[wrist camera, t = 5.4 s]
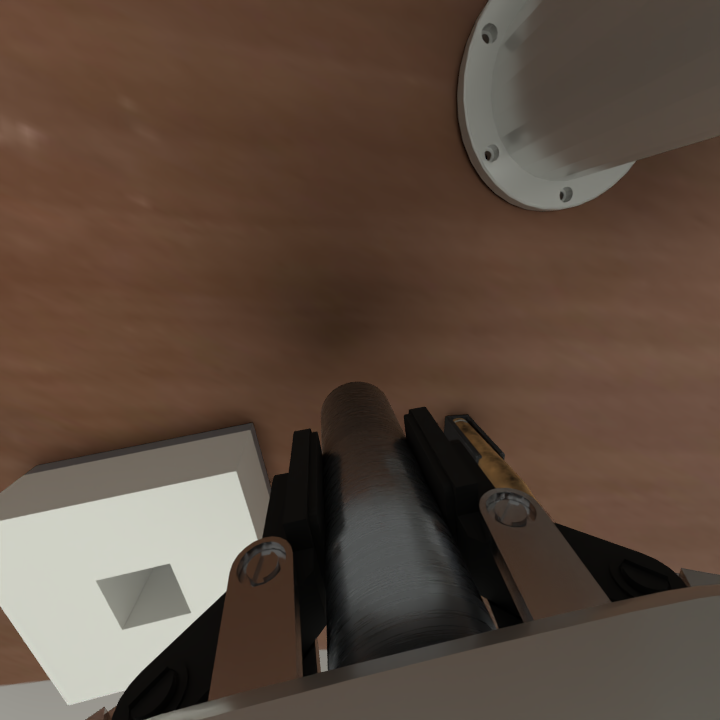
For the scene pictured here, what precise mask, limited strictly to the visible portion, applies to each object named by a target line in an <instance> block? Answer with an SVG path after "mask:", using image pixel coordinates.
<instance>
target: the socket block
mask: <svg viewBox="0 0 720 720" xmlns="http://www.w3.org/2000/svg"><path fill="white" fill-rule="evenodd" d="M270 493H271V486H270V482H269V479H268V475H267V472H266V468H265V465H264V461H263V457H262V454H261V450H260V447H259V443H258V440H257V436H256V432H255V429H254V425H253V423H249V424H244V425H239V426H234V427H229V428H224V429H219V430H214V431H209V432H204V433H199V434H194V435H189V436H184V437H178V438H173V439H168V440H163V441H158V442H153V443H148V444H143V445H138V446H133V447H128V448H123V449H118V450H113V451H108V452H103V453H98V454H93V455H88V456H83V457H78V458H73V459H68V460H63V461H57V462H52V463H47V464H42V465H37V466H35V467H34V468H33V469H31V470H30V471H29V472H27V473H26V474H25V475H23V476H22V477H21V478H19V479H18V480H17V481H15V482H14V483H13V484H12V485H10V486H9V487H8V488H6V489H5V490H4V491H2V492H1V493H0V606H1V608H2V609H3V611H4V612H5V614H6V615H7V616H8V618H9V619H10V621H11V622H12V624H13V625H14V627H15V628H16V630H17V631H18V633H19V634H20V636H21V637H22V638H23V640H24V641H25V643H26V644H27V646H28V647H29V649H30V650H31V652H32V653H33V655H34V656H35V658H36V659H37V660H38V662H39V663H40V665H41V666H42V668H43V669H44V671H45V672H46V674H47V675H48V677H49V678H50V680H51V681H52V682H53V684H54V685H55V687H56V688H57V690H58V691H59V693H60V694H61V696H62V697H63V698H64V700H65V701H66V703H67V704H68V705H72V704H75V703H79V702H82V701H87V700H90V699H94V698H98V697H101V696H106V695H109V694H113V693H117V692H121V691H125V690H126V689H127V688H128V686H129V685H130V684H131V682H132V681H133V680H134V679H135V678H136V677H137V676H138V675H139V674H140V672H141V671H142V670H144V669H145V668H146V667H147V666H148V665H149V664H150V663H151V662H152V661H153V660H154V659H155V658H156V657H157V656H158V655H159V654H160V653H161V652H163V651H164V650H165V649H166V648H167V647H168V646H169V645H170V644H171V643H172V642H173V641H174V640H175V639H176V638H177V637H178V636H179V635H181V634H182V633H183V632H184V631H185V630H186V629H187V628H188V627H189V626H190V625H191V624H192V623H193V622H194V621H195V620H196V619H197V618H199V617H200V616H201V615H202V614H203V613H204V612H205V611H206V610H207V609H208V608H209V607H210V606H211V605H212V604H213V603H214V602H215V601H217V600H218V599H219V598H220V597H221V596H222V595H223V594H224V593H225V592H226V590H227V584H228V578H229V572H230V569H231V566H232V563H233V562H234V560H235V559H236V557H237V556H238V554H239V553H240V552H241V551H242V550H243V549H244V548H245V547H247V546H248V545H250V544H251V543H253V542H254V541H257V540H259V539H262V536H263V531H264V525H265V520H266V515H267V509H268V504H269V499H270Z"/></svg>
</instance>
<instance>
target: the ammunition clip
mask: <svg viewBox="0 0 720 720" xmlns="http://www.w3.org/2000/svg"><path fill="white" fill-rule="evenodd" d="M444 434H445V436H446V437H447V439H448V440H449V441H450V440H455V439H458V440H460V441H461V443H462V444H463V445H464V447H465V448H466V449H467V451H468V452H469V453H470V455H471V456H472V457H473V459H474V460H475V461H476V463H477V464H478V465H479V467H480V468H481V469H482V471H483V472H484V473H485V475H486V476H487V477H488V479H489V480H490V481H491V483H492V484H493V485H494V487H495V488H511V489H517V490H519V491H522V492H525V493H527V494H528V495H530V496H531V497H533V498H534V499H535V500H536V498H535V497H534V496H533V495H532V493H531V491H530V490H529V488H528V486H527V485H526V484H525V483H524V481H523V480H522V479H521V478H520V477H519V476H518V475H517V474H516V473H515V472H514V471H513V470H512V469H511V467H510V466H509V465H508V464H507V463H506V462H505V461H504V457H505V454H504V453H503V452H502V451H501V450H500V449H499V447H498V446H497V445H496V444H495V443H494V442H493V441H492V440H491V439H490V438H489V437H488V436H487V435H486V433H485V432H484V431H483V430H482V429H481V428H480V427H479V426H478V425H477V424H476V423H475V422H474V420H473V419H472V418H471V417H470V416H469V415H456V416H447V417H445V429H444ZM536 501H537V500H536ZM537 502H538V501H537ZM538 503H539V502H538ZM539 504H540V503H539ZM540 505H541V504H540ZM541 507H542V505H541ZM542 508H543V507H542ZM543 509H544V508H543ZM544 511H545V509H544ZM545 512H546V511H545ZM546 513H547V512H546ZM547 515H548V516H549V517H550V519H551V520H552V522H554V523H555V521H554V520H553V519H552V517H551V516H550V515H549V514H548V513H547ZM481 597H482V596H481Z"/></svg>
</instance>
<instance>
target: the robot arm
mask: <svg viewBox="0 0 720 720" xmlns="http://www.w3.org/2000/svg"><path fill="white" fill-rule="evenodd" d="M457 102H458V120H459V125H460V130H461V134H462V139H463V143H464V146H465V148H466V151H467V153H468V156H469V158H470V161H471V163H472V165H473V166H474V168H475V169H476V171H477V173H478V174H479V176H480V177H481V179H482V180H483V181H484V182H485V183H486V184H487V186H488V187H489V188H490V189H491V190H492V191H493V192H494V193H495V194H497V195H498V196H500V197H501V198H503V199H504V200H506V201H507V202H509V203H510V204H513V205H516V206H518V207H521V208H523V209H527V210H534V211H542V212H543V211H554V210H562V209H566V208H570V207H574V206H578V205H581V204H583V203H585V202H588V201H590V200H592V199H595V198H596V197H598V196H599V195H601V194H602V193H604V192H605V191H607V190H608V189H610V188H611V187H612V186H613V185H615V184H616V183H617V182H618V181H619V180H620V179H621V178H622V177H623V176H624V175H625V174H626V173H627V172H628V171H629V169H630V168H631V167H632V166H633V164H634V163H635V162H636V161H637V160H640V159H643V158H647V157H650V156H653V155H657V154H660V153H663V152H667V151H670V150H673V149H677V148H680V147H683V146H687V145H690V144H694V143H697V142H700V141H704V140H707V139H710V138H714V137H717V136H720V0H489V1H488V2H487V4H486V5H485V7H484V8H483V10H482V11H481V13H480V15H479V16H478V18H477V20H476V22H475V24H474V27H473V29H472V31H471V34H470V36H469V38H468V41H467V43H466V47H465V51H464V54H463V58H462V62H461V66H460V72H459V81H458V90H457ZM485 154H486V155H487V157H488V158H487V159H486V158H485ZM404 423H405V432H406V439H407V441H408V443H409V445H410V448H411V450H412V452H413V454H414V456H415V458H416V460H417V462H418V464H419V467H420V469H421V471H422V473H423V475H424V477H425V479H426V481H427V483H428V486H429V488H430V490H431V492H432V494H433V496H434V498H435V500H436V502H437V505H438V507H439V509H440V511H441V513H442V515H443V517H444V519H445V521H446V524H447V526H448V528H449V530H450V532H451V534H452V536H453V538H454V540H455V542H456V544H457V546H458V549H459V551H460V553H461V555H462V557H463V559H464V561H465V563H466V565H467V568H468V570H469V572H470V574H471V576H472V578H473V580H474V582H475V584H476V586H477V589H478V591H479V593H480V595H481V596H482V599H483V601H484V603H485V605H486V608H487V610H488V612H489V614H490V616H491V618H492V620H493V622H494V624H495V627H496V630H492V631H488V632H484V633H480V634H476V635H472V636H468V637H463V638H459V639H455V640H451V641H447V642H443V643H439V644H435V645H430V646H426V647H422V648H418V649H414V650H410V651H406V652H402V653H398V654H394V655H390V656H386V657H381V658H377V659H373V660H369V661H365V662H361V663H357V664H353V665H349V666H345V667H341V668H337V669H333V670H329V671H325V672H321V669H320V658H319V647H318V640H317V637H318V636H319V634H320V633H321V631H322V630H323V629H324V627H325V626H326V625H327V621H326V584H325V553H326V551H325V518H324V485H323V455H322V450H321V446H320V441H319V436H318V432H311V429H305V430H300V431H295V432H294V434H293V443H292V451H291V459H290V467H289V473H285V474H280V475H275V476H274V478H273V483H272V488H271V493H270V499H269V504H268V509H267V515H266V520H265V525H264V531H263V536H262V539H259V540H257V541H254V542H253V543H251V544H250V545H248V546H247V547H245V548H244V549H243V550H242V551H241V552H240V553H239V554H238V556H237V557H236V559H235V560H234V562H233V563H232V566H231V569H230V572H229V578H228V584H227V590H226V592H225V593H224V594H223V595H222V596H221V597H220V598H219V599H218V600H217V601H215V602H214V603H213V604H212V605H211V606H210V607H209V608H208V609H207V610H206V611H205V612H204V613H203V614H202V615H201V616H200V617H199V618H197V619H196V620H195V621H194V622H193V623H192V624H191V625H190V626H189V627H188V628H187V629H186V630H185V631H184V632H183V633H182V634H181V635H179V636H178V637H177V638H176V639H175V640H174V641H173V642H172V643H171V644H170V645H169V646H168V647H167V648H166V649H165V650H164V651H163V652H161V653H160V654H159V655H158V656H157V657H156V658H155V659H154V660H153V661H152V662H151V663H150V664H149V665H148V666H147V667H146V668H145V669H144V670H142V671H141V672H140V674H139V675H138V676H137V677H136V678H135V679H134V680H133V681H132V682H131V684H130V685H129V686H128V688H127V689H126V691H125V692H124V694H123V695H122V697H121V698H120V700H119V702H118V704H117V706H115V707H114V708H113V709H111V710H110V711H107V710H106V708H105V707H103V708H102V709H100V710H99V711H97V712H96V713H95V714H93V715H92V716H90V717H89V718H87V719H86V720H720V575H717V574H711V573H706V572H700V571H695V570H689V569H683V568H681V571H680V574H679V573H675V572H674V571H672V570H671V569H670V568H669V567H667V566H666V565H664V564H663V563H661V562H659V561H658V560H656V559H654V558H652V557H649V556H647V555H645V554H642V553H640V552H637V551H634V550H631V549H628V548H625V547H623V546H620V545H617V544H614V543H611V542H608V541H605V540H603V539H600V538H597V537H594V536H591V535H588V534H586V533H583V532H580V531H577V530H574V529H571V528H568V527H566V526H563V525H560V524H557V523H554V522H552V520H551V519H550V517H549V516H548V515H547V513H546V512H545V511H544V509H543V508H542V507H541V505H540V504H539V503H538V502H537V501H536V500H535V499H534V498H533V497H531V496H530V495H528V494H527V493H525V492H522V491H519V490H517V489H511V488H495V487H494V485H493V484H492V483H491V481H490V480H489V479H488V477H487V476H486V475H485V473H484V472H483V471H482V469H481V468H480V467H479V465H478V464H477V463H476V461H475V460H474V459H473V457H472V456H471V455H470V453H469V452H468V451H467V449H466V448H465V447H464V445H463V444H462V443H461V441H460V440H458V439H455V440H450V441H449V440H448V439H447V437H446V436H445V434H444V433H443V431H442V430H441V429H440V427H439V426H438V424H437V423H436V421H435V420H434V418H433V417H432V415H431V414H430V413H429V411H428V410H427V408H426V407H420V408H415V409H410V410H409V414H406V415H404Z"/></svg>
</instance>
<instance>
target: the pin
mask: <svg viewBox="0 0 720 720" xmlns="http://www.w3.org/2000/svg"><path fill="white" fill-rule="evenodd" d="M321 436H322V455H323V485H324V518H325V551H326V553H325V584H326V621H327V656H328V671H329V670H333V669H337V668H341V667H345V666H349V665H353V664H357V663H361V662H365V661H369V660H373V659H377V658H381V657H386V656H390V655H394V654H398V653H402V652H406V651H410V650H414V649H418V648H422V647H426V646H430V645H435V644H439V643H443V642H447V641H451V640H455V639H459V638H463V637H468V636H472V635H476V634H480V633H484V632H488V631H492V630H496V627H495V624H494V622H493V620H492V618H491V616H490V614H489V612H488V610H487V608H486V605H485V603H484V601H483V599H482V597H481V595H480V593H479V591H478V589H477V586H476V584H475V582H474V580H473V578H472V576H471V574H470V572H469V570H468V568H467V565H466V563H465V561H464V559H463V557H462V555H461V553H460V551H459V549H458V546H457V544H456V542H455V540H454V538H453V536H452V534H451V532H450V530H449V528H448V526H447V524H446V521H445V519H444V517H443V515H442V513H441V511H440V509H439V507H438V505H437V502H436V500H435V498H434V496H433V494H432V492H431V490H430V488H429V486H428V483H427V481H426V479H425V477H424V475H423V473H422V471H421V469H420V467H419V464H418V462H417V460H416V458H415V456H414V454H413V452H412V450H411V448H410V445H409V443H408V441H407V439H406V437H405V435H404V433H403V430H402V428H401V426H400V424H399V422H398V420H397V418H396V416H395V414H394V411H393V409H392V407H391V405H390V403H389V401H388V399H387V397H386V396H385V394H384V393H383V392H382V391H381V390H380V389H379V388H377V387H376V386H374V385H372V384H369V383H365V382H350V383H346V384H344V385H341V386H339V387H337V388H336V389H335V390H333V391H332V392H331V393H330V394H329V395H328V396H327V398H326V399H325V401H324V403H323V406H322V410H321Z"/></svg>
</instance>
